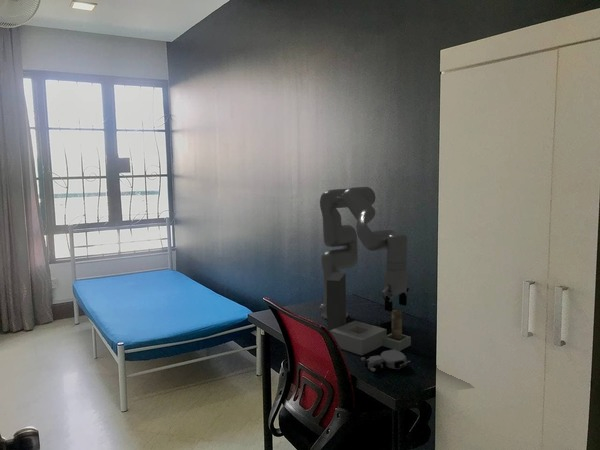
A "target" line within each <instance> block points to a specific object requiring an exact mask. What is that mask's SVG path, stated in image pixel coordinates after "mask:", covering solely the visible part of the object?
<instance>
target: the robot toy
mask: <svg viewBox="0 0 600 450" xmlns="http://www.w3.org/2000/svg"><path fill="white" fill-rule="evenodd" d="M395 349H396V348H394V349H389V350H384V351H382V352H381V353H380V355H379V354H378V355H372V356H370V355H368V356H367V355H366V356H365V357H361V358H360V360H361V362H364V361H365V363H364V366H365V367H366V368H367V369H369V370H370V372H373V373H374V372H379V371H381V369H383V368H385V367H387V368H389V369H391V370H392V369H393V370H400V369H401V368H405V367H406V366H407V364H408V363H411V360H407V356H406V355H405V354H404V353H403V352H401V350H400V351H397V350H395Z"/></svg>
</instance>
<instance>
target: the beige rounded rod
mask: <svg viewBox="0 0 600 450" xmlns="http://www.w3.org/2000/svg"><path fill="white" fill-rule="evenodd" d="M391 321H392V327H391V333H392V339H393V340H397V341H400V340H402V334H403V310H400V309H392V312H391Z"/></svg>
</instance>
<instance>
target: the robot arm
mask: <svg viewBox="0 0 600 450" xmlns="http://www.w3.org/2000/svg"><path fill="white" fill-rule="evenodd" d="M375 202H376V193H375V191H374V190H373V189H372V188H371V187H369V186H358V187H350V188H337V189H335V188H334V189H329V190H326V191H324V192H323V193H322V194H321V195H320V198H319V208H320V211H321V215H322V231H323V232H322V233H323V243H324V245H325V246H326V247H329V248H335V247H342V248H337V249H336V248H335V249H331V250H330V249H329V250H326V251H325V252H323V254H322V255H321V257H320V259H321V263H320V264H321V266H322V273H323V303H321V304H320V305H319V307H318V309H319V310H322V312H321V314H320V316H321V318H322V319H324V320H327V279H328V278H329V277H330V276H331V275H332V274H333V273H334V272H335V273H341V270H347V269H351V268H354V267H356V265H357V263H358V260H359V259H358V256H359V254H358V239H359V241H360V242H361V243H362V245H363V246H364V248H366V249H367V250H368V251H371V252H375V251H382V250H386V251H387V254H386V270H385V272H384V273H385V275H384V278H383V280H384V281H383V289H382V291H381V296H382V298H383V301H384V310H385V311H387V312H391V313H392V310H393V298H394V297H395V296H398V304H399V305H401V306H405V307H406V306H408V305H407V304H408V303H407V302H408V300H407V298H408V295H409V294H408V293H409V289H410V288H409V287H410V282H409V281H408V272H407V271H408V270H407V268H408V267H407V266H408V265H407V261H408V237H407V235H406V234H405V233H399V232H398V231H394V230H392V229H384V230H376V231H372V230H371V229H370V228H369V226H368V224H369V223H370V222H371V221H372V220H373V219H374V218H375V216H376V210H375V208H374V207H373V205H374V204H375ZM344 208H346V209H348V210H349V211H350V213H351V214H352V215H353V217H354V218H355V220H356V226H355V228H356V229H355V228H354V227H353V226H352V225H350V224H342V216H341V213H340V211H339V210H338V209H344ZM389 296H390V297H389ZM348 317H349V313H348V312H347V311H346V319H347V318H348Z"/></svg>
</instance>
